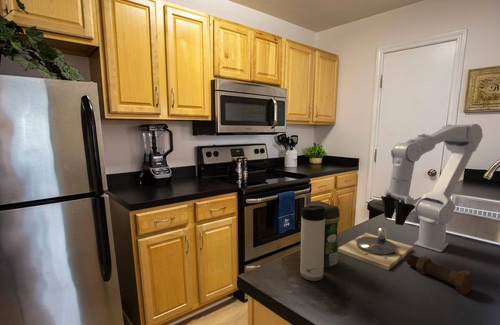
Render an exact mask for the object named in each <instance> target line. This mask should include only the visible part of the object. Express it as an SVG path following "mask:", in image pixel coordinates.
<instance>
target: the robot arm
mask: <svg viewBox="0 0 500 325" xmlns="http://www.w3.org/2000/svg"><path fill="white" fill-rule="evenodd" d="M483 137H484V136H483V129H482V127H481V125H479V124H478V123H470V124H446V125H444V126H441V128H440V129H438V130H436V131H435V132H433V133H432V134H425V133H419V134H417V137H415V138H411V139H410V138H409V139H407V141H405V142H399V143H396V145H394V146H393V148H392V149H391V150H390V155H391V158H392V162H391V163H392V170H391V176H390V182H389V187H388V189H385V191H384V195H381V196H380V198H381V201H382V204H383V215H384V218H385V219H390V220H391V219H392V218H393V217H394V214H395V217H394V222H395V225H397V226H404V224H405V223H406V221H407V219H408V217H409V215H410V214H411V212H413V210H414V212H415V214H416V215H417V218H418V219H419V227H418V231H419V233H418V239H417V240H416V241H415V242H413V245H414V246H418V247H421V248H425V249H429V250H432V251H435V252H439V253H442V252H443V251H444V250H445V249H446V248H447V246H448V245H449V242H446V233H447V226H446V225H447V224H448V223H449V222H451V221H452V219H453V216H454V212H455V208H456V204H455V202H453V200H452V199H451V196H452V194H453V193H454V191H455V188H456V187H457V184H458V183H459V181H460V179H461V176H462V175H463V173H464V171H465V169H466V167H467V166H468V163H469V161H470V159H471V158H472V155H473V154H474V152H476V151H477V149H478V147H479V145H480V143H481V141H482V139H483ZM440 143H444V144H445V147H446V149H447V150H448V151H450V153H451V155H450V157H449V158H448V160H447V162H446V164H445V166H444V168H443V169H442V172H441V174H440V175H439V177H438V179H437V181H436V183H435V185H434V187H433V188H432V191H429V192H427V193H424V194H422V196H421V197H420V198H419V200H417V202H416V203H415V204H414V199H415V198H414V197H412V196H410V192H411V191H410V190H411V184H412V180H413V173H414V168H415V162H418V161H419V160H420V158H421V157H422V156H423V155H425V154H427V153H428V152H431V151H433V150H434V149H435V147H436V145H438V144H440Z"/></svg>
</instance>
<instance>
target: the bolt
mask: <svg viewBox="0 0 500 325" xmlns="http://www.w3.org/2000/svg"><path fill="white" fill-rule="evenodd" d="M406 257H407V258H406V259H405V261H406V263H407V265H409V266H410V267H413V268H415V269H416V270H417V272H418V273H419V274H421V275H428V274H429V275H432V276H434V277H436V278H438V279H440V280H442V281H445V282H447V283H449V284H451V285H453V286H454V287H455V290H456V292H457V293H460V294H462V295H463V294H465V295H466V294H468V293H469V292H471V290H472V288H473V286H474V276H473V274H472V272H471V271H469V270H467V269H463V270H461V271H459V272H458V271H455V270H451V269H449V268H447V267H444V266H442V265H440V264H437V263H434V262H433V261H432V260H431V258H429V257H427V256H420V257H419V256H416V255H415V254H409V255H408V254H407V255H406Z"/></svg>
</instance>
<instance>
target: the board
mask: <svg viewBox="0 0 500 325" xmlns="http://www.w3.org/2000/svg"><path fill="white" fill-rule="evenodd" d="M361 237H377V238H378V235H374V234H371V233H368V232H365V233H362V235H359V236H358V237H355V238H354V239H352V240H350V241H348V242H347V243H345V244H342V245H341V246H339V247H338V253H341V254H344V255H345V256H349V257H351V258H354V259H357V260H359V261H362V262H365V263H367V264H370V265H372V266H376V267H379V268H380V269H384V270H386V271H389V270H391V269H392V268H393V267H394V266H395V265H397V264H398V263H399V262H400V261H401V260H402V259H404V258H405V257H407V256H408V254H409V253H410V252H412V251H413V248H414V246H413V245H409V244H407V243H406V244H405V243H403V242H402V243H401V242H399V241H395V240H392V239H388V238H386V240H388V241H390V242H392V243H393V244H394V245H395V246H396V252H395V253H393V254H389V255H379V254H373V253H369V252H366V251H364V250H362V249H360V248H359V247H358V246H357V245H356V240H357V239H358V238H361Z"/></svg>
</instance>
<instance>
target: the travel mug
mask: <svg viewBox="0 0 500 325" xmlns="http://www.w3.org/2000/svg"><path fill="white" fill-rule="evenodd" d="M300 216H301V217H300V218H301V219H300V220H301V221H300V223H301V227H300V267H299V269H300V272H299V274H300V276H301V277H302V279H303V278H304V279H305V280H308V281H311V282H318V281H320V280H323V278H324V268H325V267H324V234H325V207H323V206H309V207H308V206H302V207H301V215H300Z"/></svg>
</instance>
